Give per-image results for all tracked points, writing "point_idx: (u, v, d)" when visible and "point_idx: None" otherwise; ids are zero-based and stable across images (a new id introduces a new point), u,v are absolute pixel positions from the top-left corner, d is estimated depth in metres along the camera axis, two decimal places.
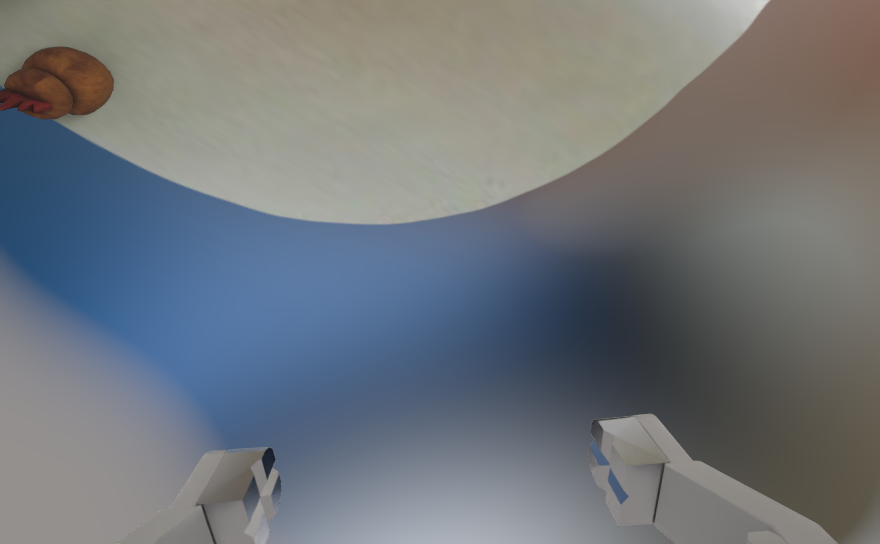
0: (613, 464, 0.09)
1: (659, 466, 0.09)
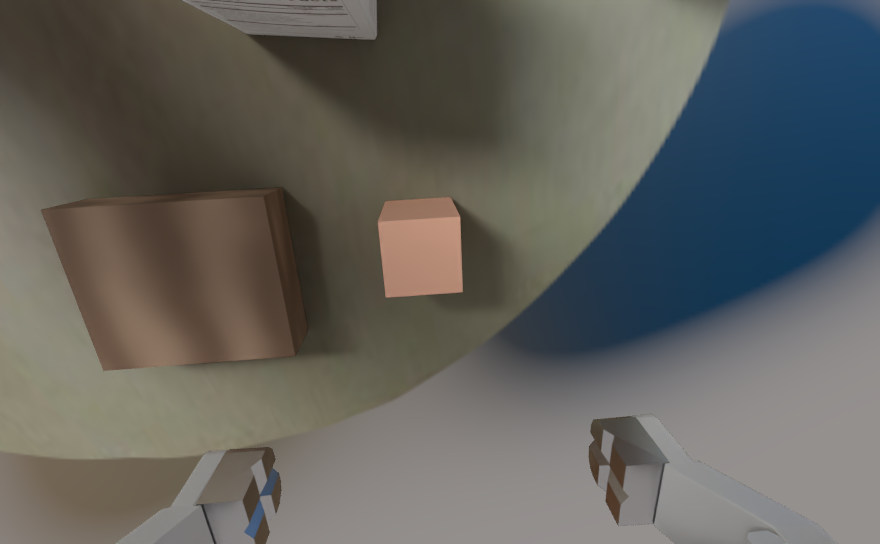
0: (613, 464, 0.09)
1: (659, 466, 0.09)
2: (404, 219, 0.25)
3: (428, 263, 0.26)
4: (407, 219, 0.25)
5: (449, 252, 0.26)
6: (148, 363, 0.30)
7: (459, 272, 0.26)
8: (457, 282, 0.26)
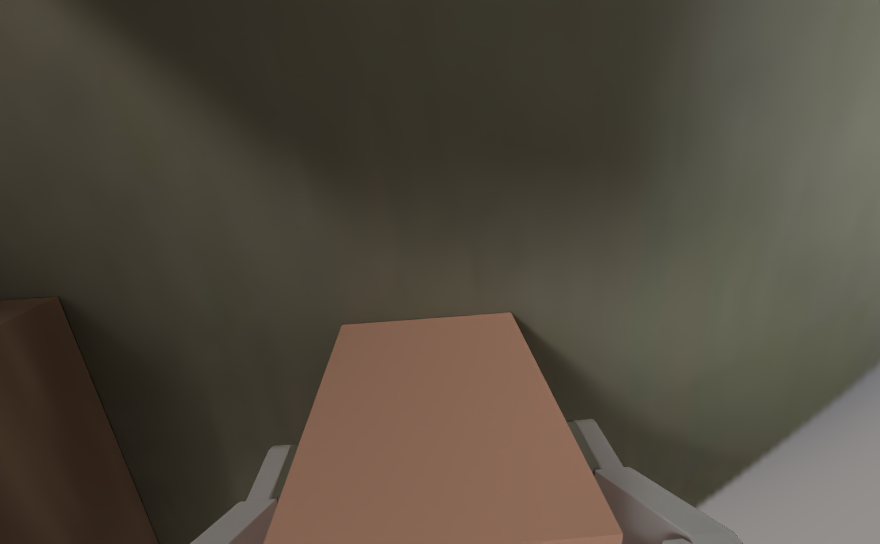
0: None
1: None
2: (377, 542, 0.06)
3: None
4: (390, 543, 0.06)
5: None
6: None
7: None
8: None
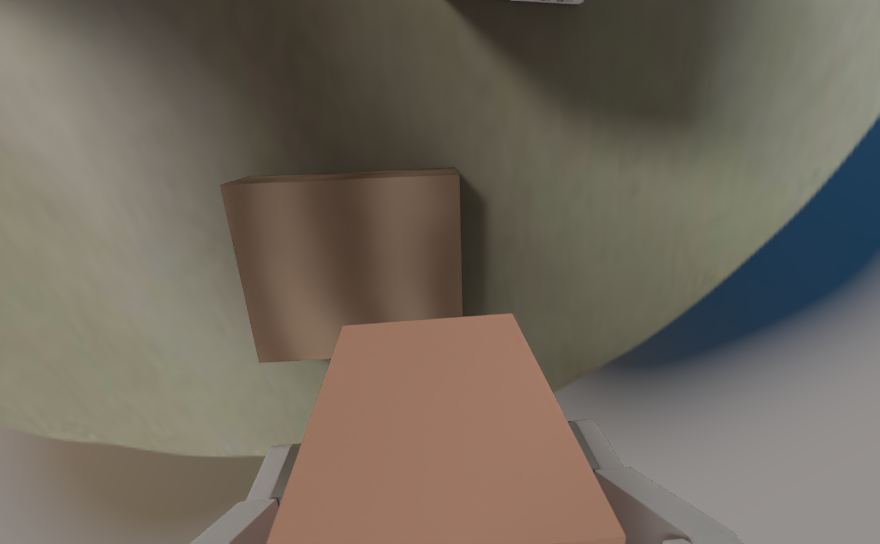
0: None
1: None
2: None
3: None
4: None
5: None
6: (307, 355, 0.28)
7: None
8: None
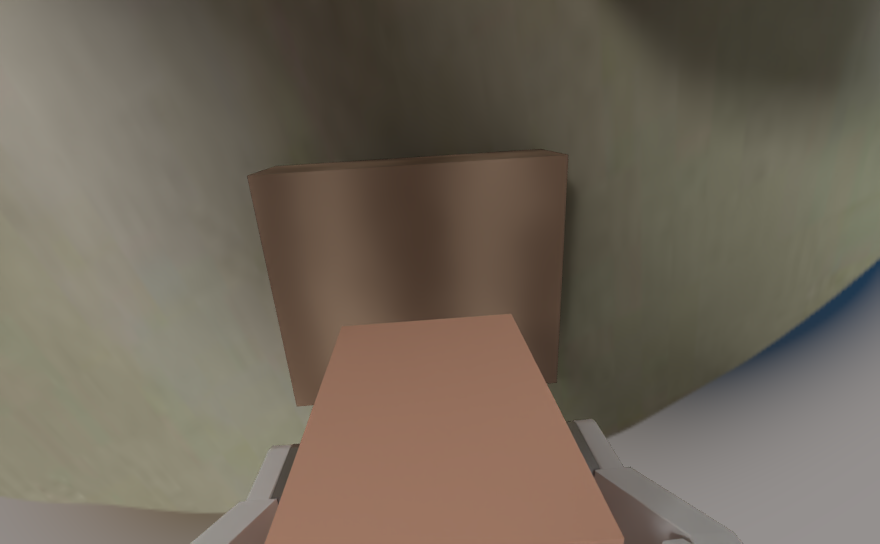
0: None
1: None
2: None
3: None
4: None
5: None
6: None
7: None
8: None
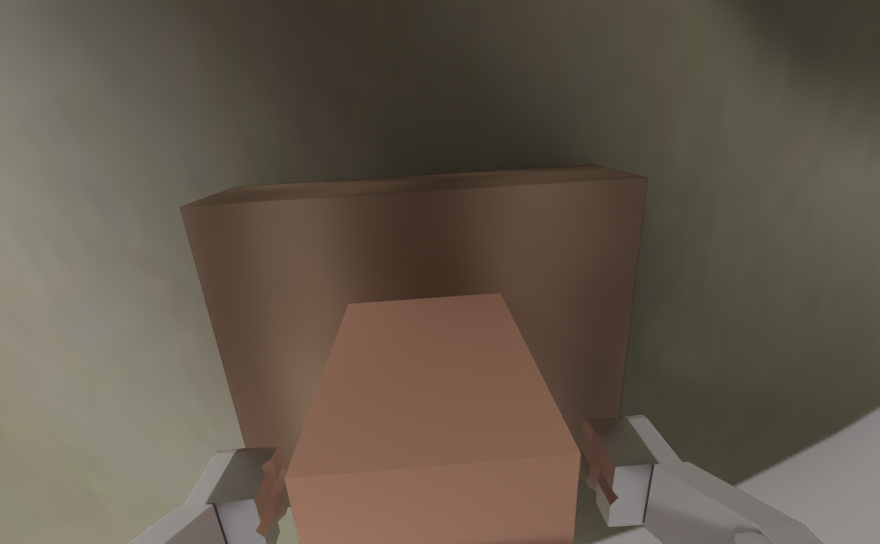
0: (603, 465, 0.09)
1: (648, 467, 0.09)
2: (382, 461, 0.07)
3: None
4: (392, 461, 0.07)
5: None
6: None
7: None
8: None
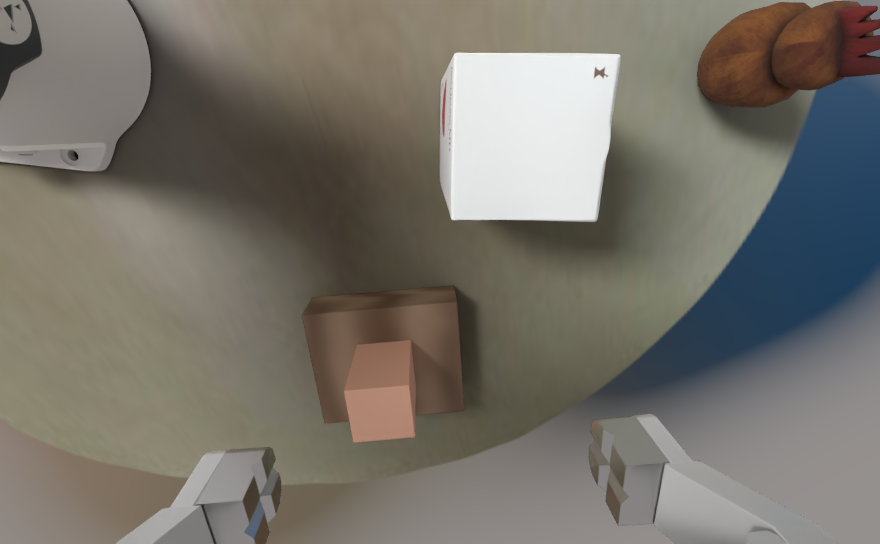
0: (613, 464, 0.09)
1: (659, 466, 0.09)
2: (365, 387, 0.32)
3: (386, 417, 0.33)
4: (367, 387, 0.32)
5: (401, 409, 0.32)
6: None
7: (411, 423, 0.33)
8: (410, 430, 0.33)
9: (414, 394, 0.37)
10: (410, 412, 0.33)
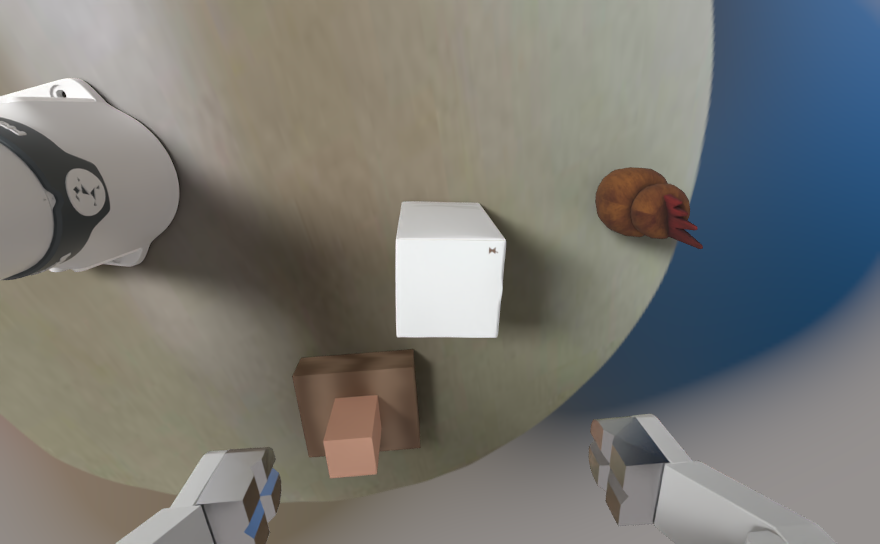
0: (613, 464, 0.09)
1: (659, 466, 0.09)
2: (339, 438, 0.43)
3: (355, 460, 0.43)
4: (340, 438, 0.43)
5: (366, 454, 0.43)
6: None
7: (373, 464, 0.44)
8: (373, 469, 0.44)
9: (379, 438, 0.48)
10: (373, 456, 0.43)
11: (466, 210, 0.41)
